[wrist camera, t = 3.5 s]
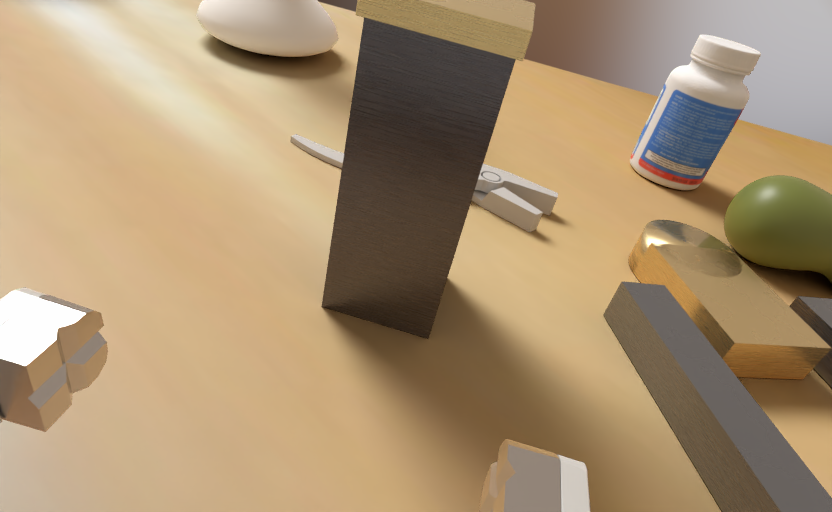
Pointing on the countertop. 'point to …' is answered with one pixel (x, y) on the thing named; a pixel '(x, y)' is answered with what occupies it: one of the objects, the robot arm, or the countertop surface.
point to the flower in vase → (270, 25)
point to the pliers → (479, 189)
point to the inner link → (727, 302)
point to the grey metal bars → (718, 402)
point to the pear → (782, 224)
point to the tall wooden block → (417, 149)
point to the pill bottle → (695, 114)
